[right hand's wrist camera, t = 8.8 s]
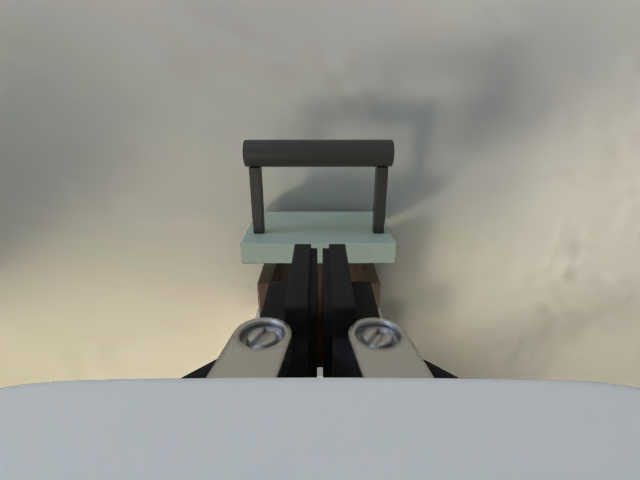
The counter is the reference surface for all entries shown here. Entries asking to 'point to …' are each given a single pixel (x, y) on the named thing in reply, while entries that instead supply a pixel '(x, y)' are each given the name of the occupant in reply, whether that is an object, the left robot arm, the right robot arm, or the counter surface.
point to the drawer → (318, 215)
